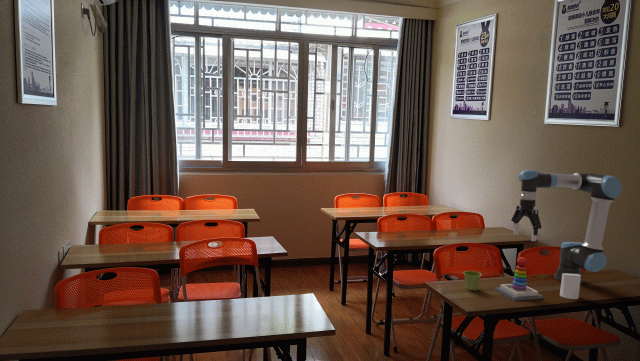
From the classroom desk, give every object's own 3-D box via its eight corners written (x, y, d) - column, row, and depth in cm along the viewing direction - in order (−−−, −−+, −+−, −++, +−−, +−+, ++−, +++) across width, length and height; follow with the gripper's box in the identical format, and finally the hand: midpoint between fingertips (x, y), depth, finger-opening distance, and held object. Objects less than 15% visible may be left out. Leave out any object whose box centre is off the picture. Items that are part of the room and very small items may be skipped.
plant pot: (474, 293, 271) (475, 277, 270) (458, 288, 278) (460, 272, 277) (483, 289, 278) (485, 274, 276) (468, 285, 285) (469, 269, 283)
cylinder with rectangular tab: (573, 293, 279) (576, 272, 277) (581, 299, 270) (584, 277, 268) (556, 292, 279) (559, 271, 278) (564, 298, 270) (566, 276, 269)
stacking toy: (529, 294, 269) (532, 259, 266) (513, 293, 269) (517, 259, 267) (523, 289, 276) (526, 255, 274) (508, 288, 277) (511, 255, 274)
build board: (522, 288, 283) (522, 282, 283) (542, 298, 268) (543, 292, 268) (494, 290, 278) (495, 283, 277) (513, 300, 263) (514, 294, 262)
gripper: (506, 195, 283) (503, 232, 286) (539, 203, 260) (535, 243, 262) (517, 195, 285) (514, 232, 288) (551, 202, 262) (547, 243, 265)
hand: (524, 238), depth 275 cm, fingers open, 13 cm apart
